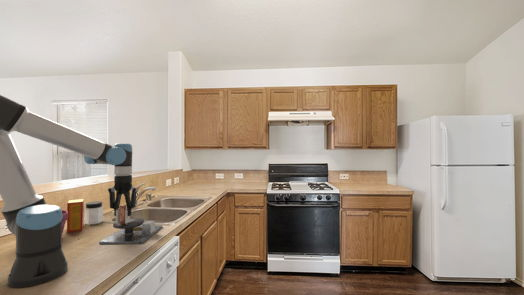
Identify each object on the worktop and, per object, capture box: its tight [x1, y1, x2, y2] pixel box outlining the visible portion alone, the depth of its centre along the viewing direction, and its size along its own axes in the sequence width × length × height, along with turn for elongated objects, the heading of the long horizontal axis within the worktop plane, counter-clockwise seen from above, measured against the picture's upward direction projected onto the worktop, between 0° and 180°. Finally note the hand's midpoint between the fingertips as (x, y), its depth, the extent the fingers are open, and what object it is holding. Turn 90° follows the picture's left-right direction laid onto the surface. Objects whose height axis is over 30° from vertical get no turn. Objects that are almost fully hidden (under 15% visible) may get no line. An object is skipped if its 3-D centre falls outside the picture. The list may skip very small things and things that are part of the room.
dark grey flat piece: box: [98, 220, 163, 245], centre depth 123 cm, size 24×20×6 cm
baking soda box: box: [66, 198, 85, 233], centre depth 132 cm, size 10×6×16 cm
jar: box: [84, 200, 104, 226], centre depth 144 cm, size 9×8×12 cm
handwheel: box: [112, 204, 145, 233], centre depth 123 cm, size 14×17×15 cm
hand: (122, 222), depth 117 cm, fingers open, 4 cm apart
